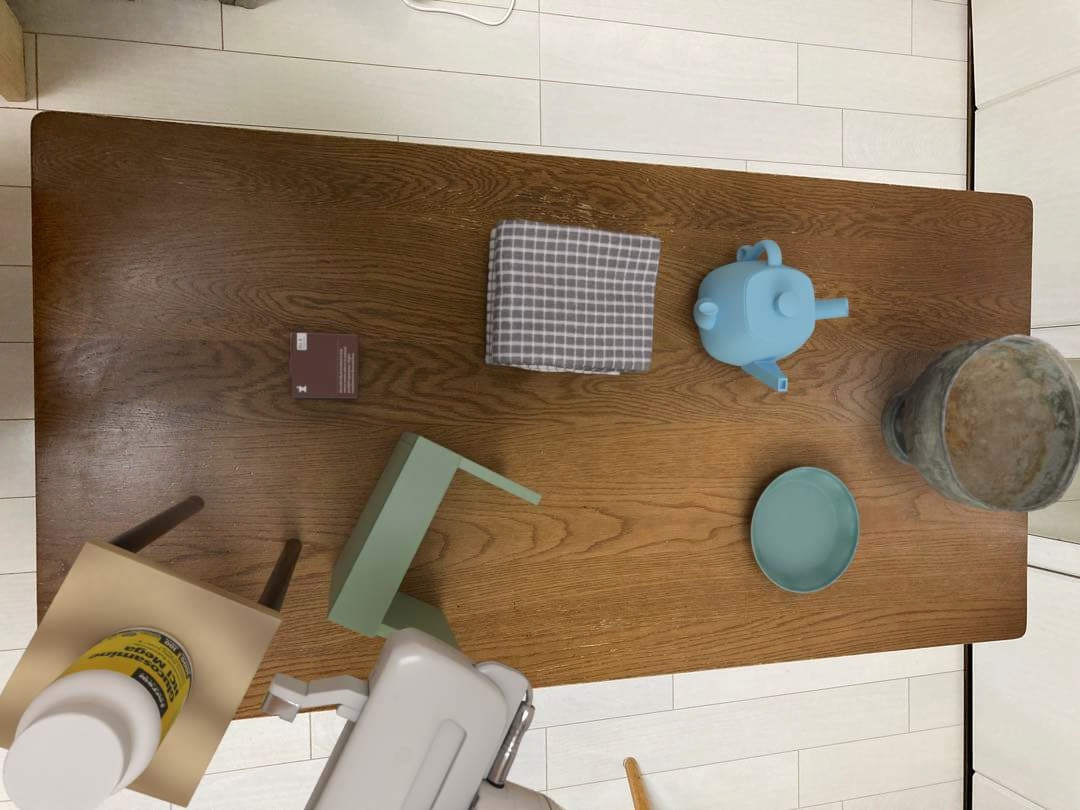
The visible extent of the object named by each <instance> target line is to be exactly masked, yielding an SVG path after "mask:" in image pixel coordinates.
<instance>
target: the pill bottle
mask: <svg viewBox="0 0 1080 810" xmlns="http://www.w3.org/2000/svg"><path fill="white" fill-rule="evenodd" d="M192 682H193V668H192V664H191V660H190V657H189V655H188V653H187V651H186V650H185V648H184V647H183V646H182V645H181V644H180V643H179V642H178V641H177V640H176V639H175V638H173V637H172V636H170V635H169V634H167V633H165V632H162V631H160V630H156V629H152V628H145V627H136V628H129V629H125V630H121V631H118V632H115V633H113V634H111V635H109V636H107V637H105V638H104V639H102V640H101V641H99V642H98V643H96V644H95V645H94V646H93V647H92V648H91V649H89V650H88V651H87V652H86V653H85V654H83V655H82V656H81V657H80V658H79V659H78V660H77V661H75V662H74V663H73V664H72V665H71V666H70V667H69V668H68V669H66V670H65V671H64V672H63V673H62V674H61V675H60V676H58V677H57V678H56V679H55V680H54V681H53V682H52V683H51V684H49V685H48V686H47V687H46V688H45V689H44V690H43V691H41V692H40V693H39V694H38V695H37V696H36V697H35V698H34V700H33V701H32V702H31V703H30V705H29V706H28V707H27V709H26V710H25V712H24V714H23V715H22V717H21V719H20V722H19V724H18V726H17V730H16V734H15V739H14V742H13V743H12V745H11V747H10V748H9V750H7V753H6V755H5V757H4V761H3V766H2V783H3V787H4V791H5V792H6V795H7V797H8V798H9V800H10V801H11V802H12V803H13V804H14V806H16V808H17V809H18V810H95V809H96V808H99V806H101V805H102V804H103V803H104V802H106V800H107V799H108V798H109V797H111V796H113V795H115V794H117V793H119V792H121V791H122V790H124V789H126V788H125V787H127V786H128V785H129V784H130V783H132V782H133V781H134V780H135V779H136V778H137V777H138V776H139V775H140V774H141V773H142V772H143V771H144V770H145V768H146V767H147V766H148V764H149V763H150V762H151V760H152V758H153V757H154V755H155V753H156V752H157V750H158V748H159V747H160V745H161V743H162V742H163V740H164V738H165V737H166V735H167V733H168V732H169V730H170V728H171V727H172V725H173V723H174V722H175V720H176V718H177V717H178V715H179V713H180V712H181V710H182V708H183V706H184V705H185V703H186V701H187V699H188V696H189V694H190V691H191V687H192Z"/></svg>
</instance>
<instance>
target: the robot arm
mask: <svg viewBox="0 0 1080 810" xmlns="http://www.w3.org/2000/svg"><path fill="white" fill-rule="evenodd" d="M462 652H463V651H462ZM462 652H460V651H458V650H457V649H455V648H453V647H452V646H450V645H448V644H446V643H445V642H443V641H441V640H439V639H437V638H435V637H433V636H431V635H429V634H427V633H425V632H423V631H421V630H419V629H416V628H412V627H410V628H406V629H402V630H399V631H395V632H392V633H391V634H390V635H389V636H388V638H387V639H386V640H385V641H384V645H383V647H382V648H381V651H380V653H379V654H378V657H377V658H376V661H375V663H374V665H373V667H372V669H371V671H370V673H369V675H368V677H367V678H366V681H365V680H363V679H360V678H357V677H355V676H353V675H350V674H342V675H341V674H340V675H337V676H330V677H325V678H319V679H314V680H309V681H308V682H306V681H303V680H300V679H298V678H295V677H293V676H291V675H288V674H285V673H281V672H277V673H275V674H274V676H273V678H272V680H271V682H270V684H269V686H268V688H267V690H266V691H265V694H264V696H263V698H262V700H261V704H260V707H259V709H260V710H261V711H262V713H265V715H269V716H275V715H277V716H278V718H279V719H280V720H282V721H286V722H289V723H291V724H292V723H294V721H295V719H296V717H297V715H298V713H299V711H300V709H308V708H315V707H316V708H317V707H323V706H330V705H331V706H332V705H335V706H336V707H335V708H336V709H335V713H336V716H339V717H341V718H343V719H345V720H346V722H345V724H344V726H343V729H342V731H341V733H340V735H339V737H338V739H337V740H336V743H335V744H334V747H333V748H332V751H331V753H330V755H329V757H328V759H327V761H326V764H325V765H324V767H323V769H322V771H321V774H320V776H319V777H318V779H317V782H316V783H315V786H314V788H313V790H312V792H311V794H310V797H309V798H308V800H307V802H306V804H305V806H304V808H303V810H567V809H566V808H564V807H562V806H561V805H560V804H559V803H557V802H556V801H555V800H554V799H553V798H551V797H550V796H549V795H546V794H545V793H542V792H540V791H536V790H534V789H533V788H530V787H526V786H523V785H521V784H518V783H516V782H513V781H510V780H507V778H508V776H509V773H510V771H511V768H512V766H513V764H514V762H515V759H516V757H517V754H518V751H519V747H520V745H521V742H522V739H523V738H524V736H525V733H526V732H528V730H529V728H530V727H531V724H532V721H533V720H534V716H535V712H536V707H535V706H534V705H533V702H534V701H533V700H534V689H533V685H532V683H531V681H530V679H529V678H528V676H527V675H526V674H525V673H524V672H523V671H521V670H520V669H517V668H515V667H513V666H511V665H508V664H505V663H503V662H500V661H498V660H491V659H490V660H489V659H487V660H482V661H479V662H477V661H475V660H474V659H472V658H471V657H469V656H468V655H466V654H465V653H464V652H463V653H462ZM524 696H525V700H523V699H524Z"/></svg>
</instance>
